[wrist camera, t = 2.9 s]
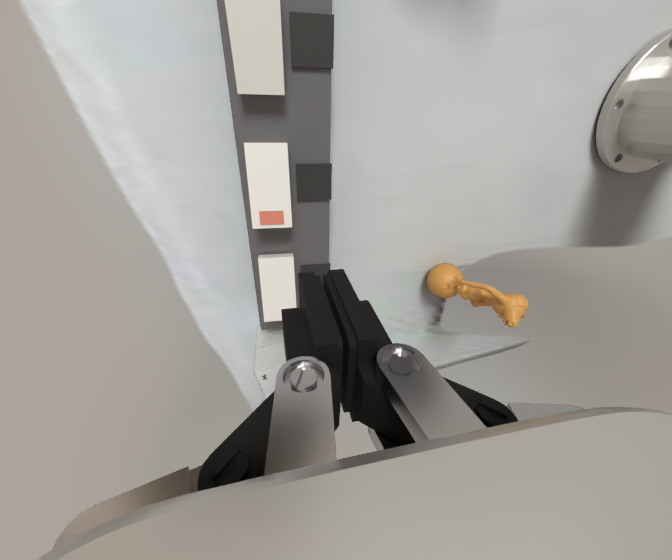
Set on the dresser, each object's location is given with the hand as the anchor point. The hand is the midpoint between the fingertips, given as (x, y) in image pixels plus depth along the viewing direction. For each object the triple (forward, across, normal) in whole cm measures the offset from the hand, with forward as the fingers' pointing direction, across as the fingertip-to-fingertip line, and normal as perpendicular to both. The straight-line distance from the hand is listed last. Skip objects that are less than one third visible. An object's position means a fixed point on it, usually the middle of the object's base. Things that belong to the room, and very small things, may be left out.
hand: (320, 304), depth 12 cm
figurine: (+19, -18, +10) cm, 28 cm away
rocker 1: (+14, +1, -10) cm, 18 cm away
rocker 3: (+14, +1, +8) cm, 16 cm away
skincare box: (+20, +1, +19) cm, 28 cm away
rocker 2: (+14, +1, -1) cm, 14 cm away
